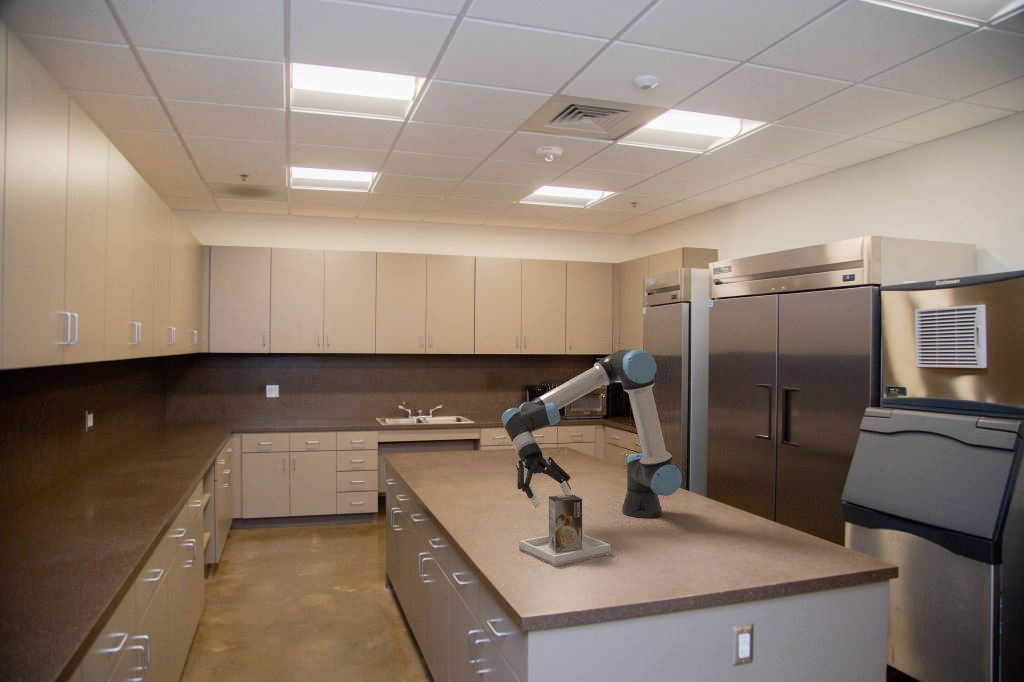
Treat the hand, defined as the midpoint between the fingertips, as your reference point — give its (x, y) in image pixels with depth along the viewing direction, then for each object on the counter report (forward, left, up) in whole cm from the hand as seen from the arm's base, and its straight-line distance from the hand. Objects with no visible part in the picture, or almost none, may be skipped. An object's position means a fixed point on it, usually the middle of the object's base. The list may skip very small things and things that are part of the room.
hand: (555, 503), depth 208 cm
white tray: (+4, 0, -14) cm, 15 cm away
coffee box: (+4, +1, -14) cm, 14 cm away
